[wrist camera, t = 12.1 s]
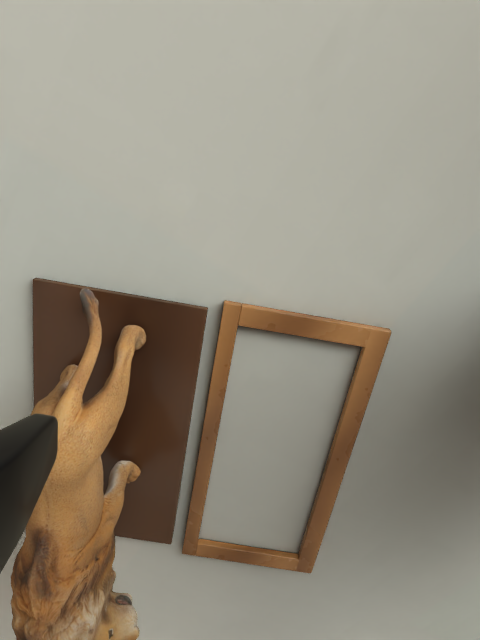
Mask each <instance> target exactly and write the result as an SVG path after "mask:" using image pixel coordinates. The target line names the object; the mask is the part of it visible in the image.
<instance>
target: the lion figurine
mask: <svg viewBox="0 0 480 640" xmlns="http://www.w3.org/2000/svg"><path fill="white" fill-rule="evenodd" d="M80 299H81V303H82V311H83V314H84V316H85V318H86V319H87V322H88V325H89V332H90V335H89V340H88V343H87V346H86V349H85V352H84V354H83V357H82V359H81V361H80V363H79V365H78V366H77V365H75V364H73V365H68V366H67V367H66V368H65V369H64V370H63V372H62V373H61V375H60V382H59V383H58V384H57V386H56V387H55V388H54V389H53V390H52V391H51V392H50V393H49V395H48V396H47V397H45V398H44V399H42V400H40V401H39V402H38V403H37V404H36V405H35V407H34V409H33V411H32V413H31V415H33V414H36V413H37V414H44V415H51V416H55V417H56V418H57V421H58V450H57V456H56V460H55V463H54V465H53V467H52V470H51V472H50V474H49V476H48V479H47V481H46V483H45V485H44V488H43V490H42V492H41V494H40V497H39V499H38V501H37V503H36V505H35V508H34V510H33V512H32V514H31V517H30V519H29V521H28V523H27V526H26V538H25V541H24V544H23V546H22V547H21V549H20V551H19V552H18V554H17V557H16V559H15V563H14V566H13V572H12V575H11V587H12V591H13V596H12V600H11V606H12V614H13V620H12V627H13V630H14V632H15V635H16V640H136V639H137V638H138V636H139V628H138V627H137V612H136V610H135V609H134V607H133V606H132V597H131V595H130V594H128V593H115V592H113V591H112V587H113V584H114V581H115V578H116V573H115V571H114V570H113V569H112V564H113V560H114V557H115V534H114V528H115V525H116V523H117V521H118V519H119V516H120V513H121V510H122V507H123V502H124V490H125V486H126V483H130V482H133V481H135V480H136V479H137V478H138V476H139V475H140V473H141V471H140V469H139V467H138V466H137V465H136V464H134V463H133V462H131V461H119V462H117V463H116V464H115V466H114V467H113V468H112V470H111V472H110V475H109V481H108V487H107V490H106V493H105V495H104V493H103V484H104V483H103V465H102V460H101V454H102V453H103V451H104V450H105V448H106V446H107V445H108V443H109V441H110V439H111V438H112V436H113V434H114V432H115V430H116V427H117V424H118V421H119V419H120V417H121V415H122V413H123V410H124V407H125V403H126V399H127V394H128V389H129V381H130V371H131V363H132V358H133V355H134V351H135V350H138V349H140V348H141V347H142V346H143V345H144V344H145V342H146V334H145V331H144V329H142V328H141V327H139V326H137V325H128V326H125V327H124V328H123V329H122V331H121V334H120V337H119V339H118V342H117V344H116V347H115V350H114V364H113V369H112V372H111V374H110V376H109V377H108V379H107V380H106V382H105V384H104V386H103V388H102V389H101V390H100V391H99V392H98V393H97V394H96V395H95V396H94V397H92V398H91V399H90V400H88V401H87V402H85V403H83V399H82V396H83V393H84V390H85V387H86V385H87V382H88V380H89V378H90V375H91V373H92V370H93V368H94V365H95V362H96V359H97V356H98V353H99V350H100V346H101V340H102V328H101V322H100V318H99V313H98V304H99V303H98V300H97V299H96V298H95V296H94V294H93V292H92V291H91V290H89V289H87V288H84V289H82V290H81V291H80Z"/></svg>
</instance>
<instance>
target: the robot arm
mask: <svg viewBox="0 0 480 640" xmlns="http://www.w3.org/2000/svg"><path fill="white" fill-rule="evenodd" d="M57 450H58V421H57V418H56V417H55V416H51V415H44V414H37V413H36V414H33V415H30V416H28V417H26V418H24V419H22V420H20V421H18V422H16V423H14V424H12V425H10V426H8V427H6V428H3V429H1V430H0V573H1V571H2V570H3V568H4V566H5V564H6V563H7V561H8V559H9V557H10V556H11V554H12V552H13V551H14V549H15V547H16V545H17V543H18V542H19V540H20V538H21V536H22V534H23V532H24V530H25V528H26V526H27V523H28V521H29V519H30V517H31V514H32V512H33V510H34V508H35V505H36V503H37V501H38V499H39V497H40V494H41V492H42V490H43V488H44V485H45V483H46V481H47V479H48V476H49V474H50V472H51V470H52V467H53V465H54V463H55V460H56V456H57Z"/></svg>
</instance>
